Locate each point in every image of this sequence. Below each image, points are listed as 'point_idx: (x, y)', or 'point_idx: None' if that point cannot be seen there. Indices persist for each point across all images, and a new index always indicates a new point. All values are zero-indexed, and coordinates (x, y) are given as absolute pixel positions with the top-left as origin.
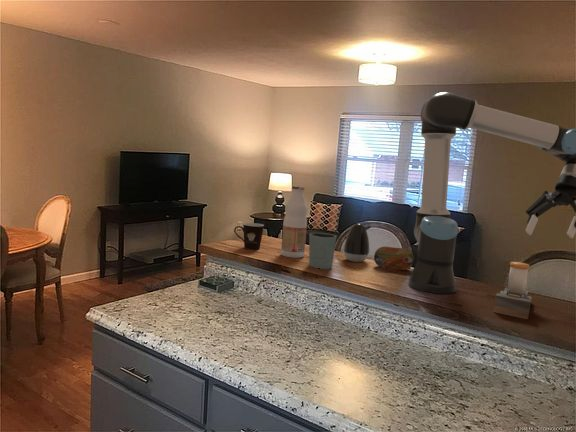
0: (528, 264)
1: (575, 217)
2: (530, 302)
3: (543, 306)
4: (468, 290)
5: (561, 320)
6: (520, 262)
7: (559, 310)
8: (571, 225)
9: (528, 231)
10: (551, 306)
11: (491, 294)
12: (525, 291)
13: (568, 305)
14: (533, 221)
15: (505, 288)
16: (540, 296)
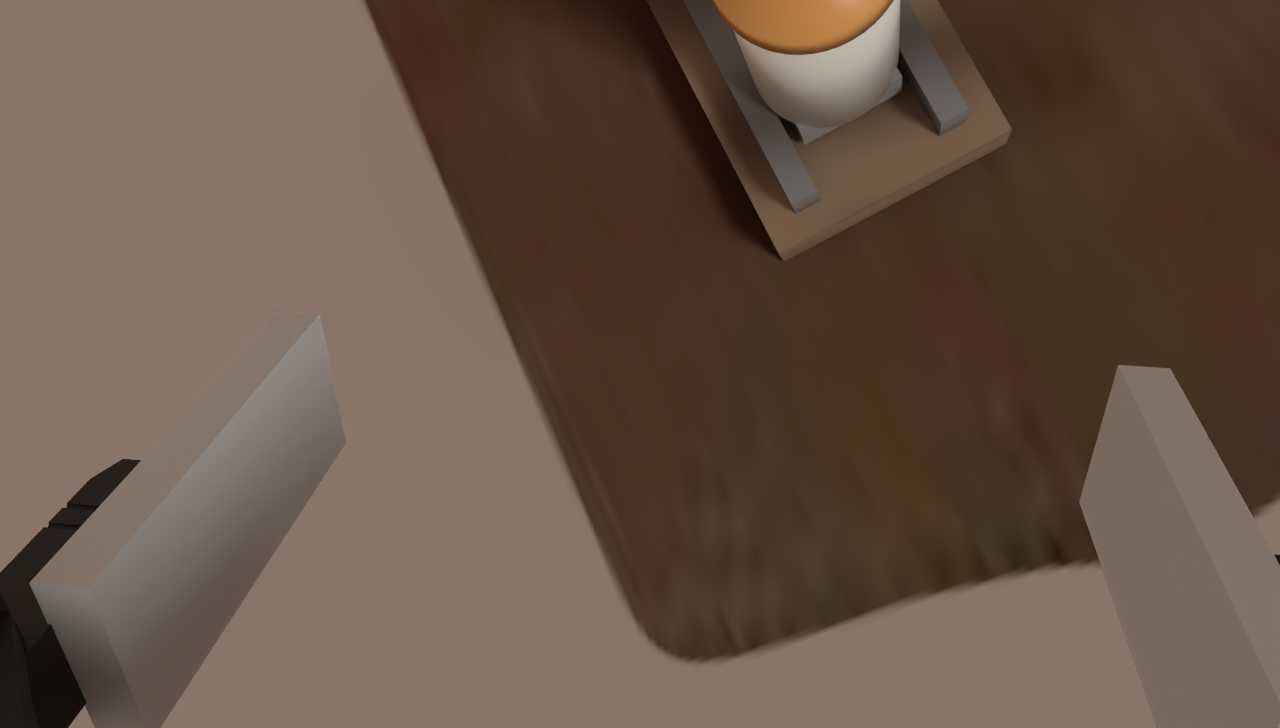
0: (744, 26)
1: (66, 553)
2: (683, 70)
3: (686, 279)
4: (1275, 10)
5: (458, 77)
6: (847, 20)
7: (579, 308)
8: (207, 415)
9: (1110, 411)
10: (660, 352)
11: (1090, 132)
12: (806, 187)
13: (619, 539)
14: (1190, 621)
15: (943, 75)
16: (868, 574)
